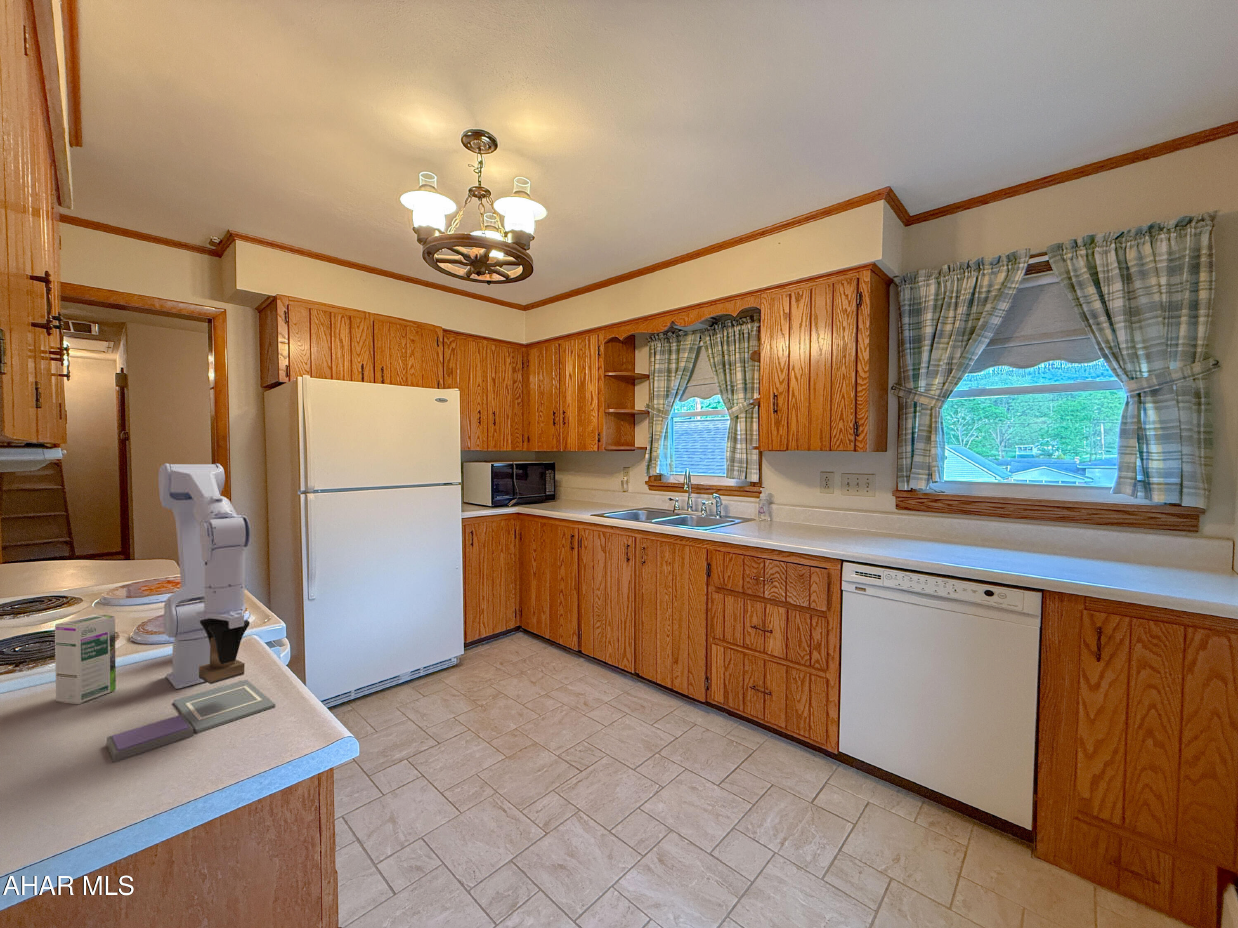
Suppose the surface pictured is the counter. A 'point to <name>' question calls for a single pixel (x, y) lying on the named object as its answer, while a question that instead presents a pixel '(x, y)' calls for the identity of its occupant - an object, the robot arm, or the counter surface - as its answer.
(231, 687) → the board
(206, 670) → the stamp
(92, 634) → the syrup box
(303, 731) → the counter surface
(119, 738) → the ink pad
